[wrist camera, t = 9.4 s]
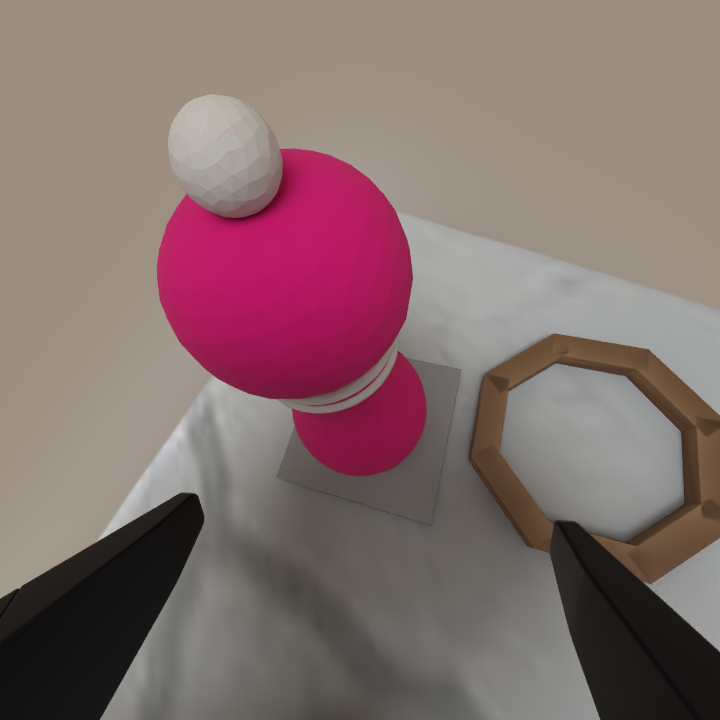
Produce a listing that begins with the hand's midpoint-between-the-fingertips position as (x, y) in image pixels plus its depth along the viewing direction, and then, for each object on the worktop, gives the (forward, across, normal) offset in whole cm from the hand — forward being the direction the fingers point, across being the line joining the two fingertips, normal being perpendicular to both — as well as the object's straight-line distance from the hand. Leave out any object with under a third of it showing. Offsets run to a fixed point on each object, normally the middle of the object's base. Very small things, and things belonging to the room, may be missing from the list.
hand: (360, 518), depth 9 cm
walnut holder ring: (+13, -11, +7) cm, 18 cm away
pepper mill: (+13, +2, +6) cm, 15 cm away
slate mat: (+14, +2, +6) cm, 15 cm away
